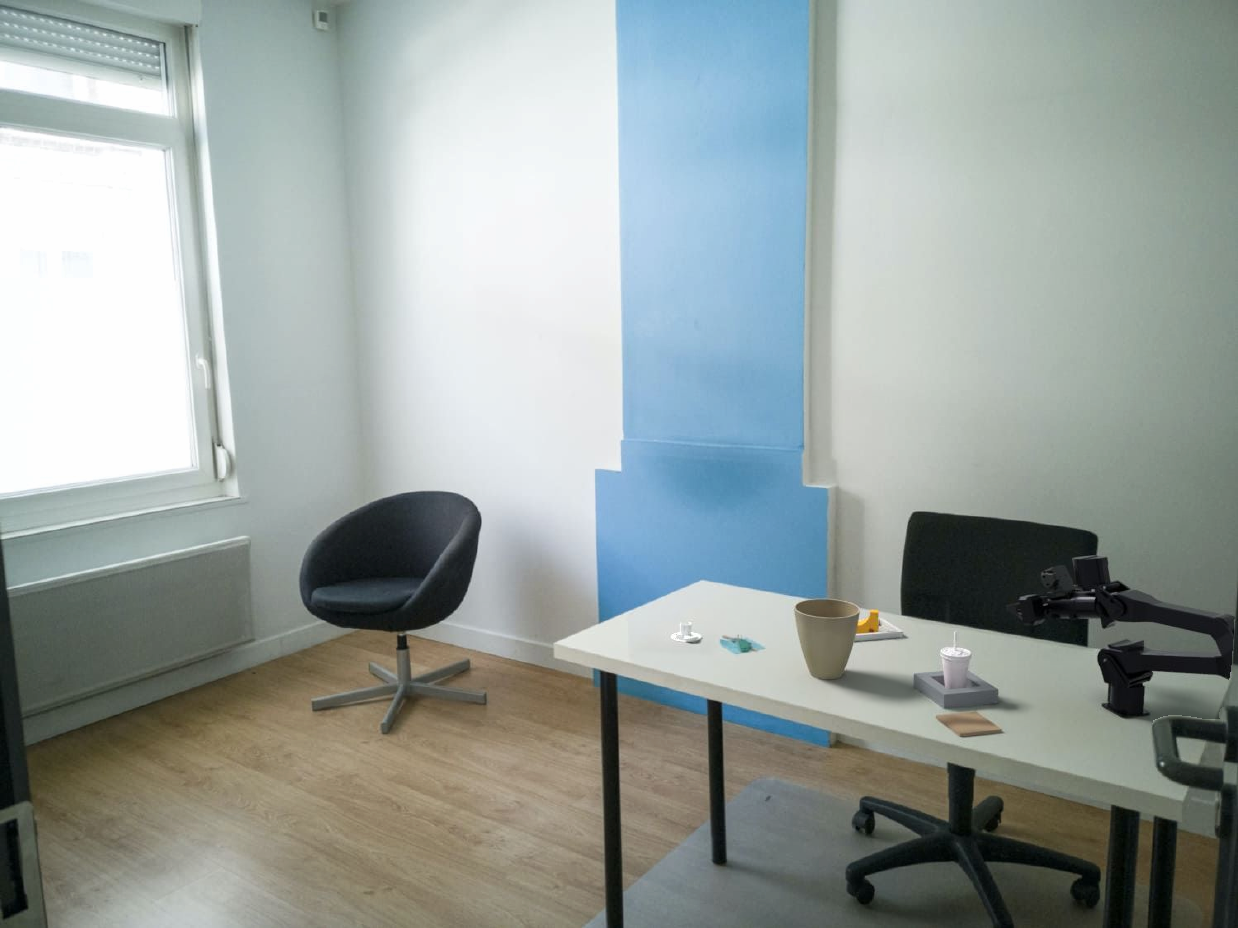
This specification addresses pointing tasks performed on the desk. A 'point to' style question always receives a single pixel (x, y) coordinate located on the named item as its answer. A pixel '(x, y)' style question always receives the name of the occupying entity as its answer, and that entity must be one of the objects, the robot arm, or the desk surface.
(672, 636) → the teacup and saucer
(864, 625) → the pipe clamp
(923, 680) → the dock
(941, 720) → the pad
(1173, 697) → the desk surface
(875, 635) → the tray
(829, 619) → the plant pot
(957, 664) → the smoothie
